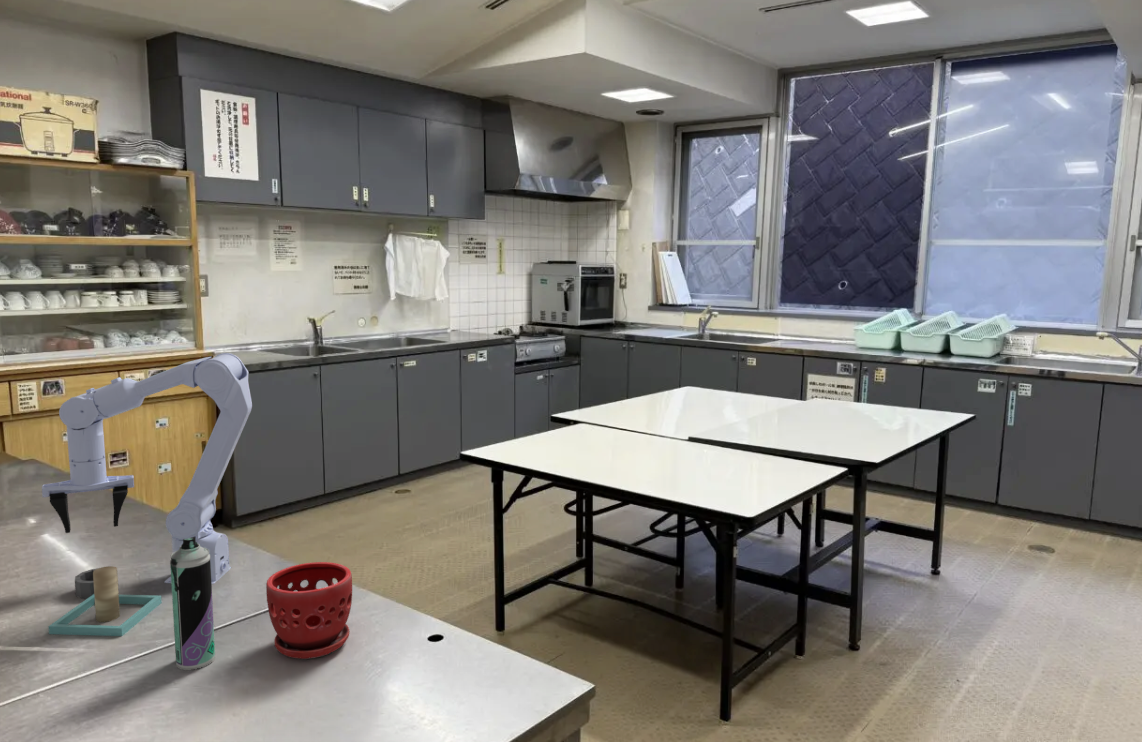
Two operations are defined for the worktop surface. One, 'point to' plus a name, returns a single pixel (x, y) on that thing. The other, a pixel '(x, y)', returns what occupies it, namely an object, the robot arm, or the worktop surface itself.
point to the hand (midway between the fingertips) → (92, 528)
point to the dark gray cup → (85, 584)
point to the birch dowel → (106, 594)
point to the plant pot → (310, 609)
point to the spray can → (192, 605)
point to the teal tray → (65, 628)
